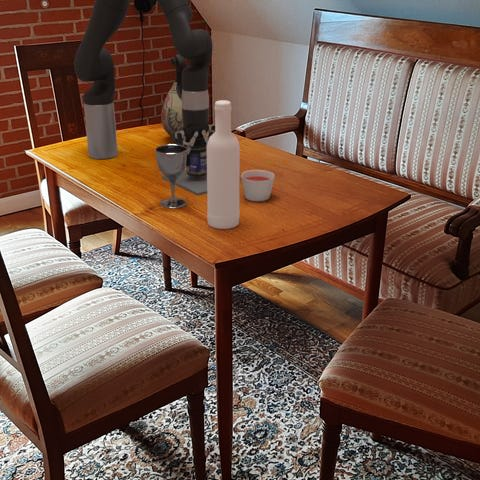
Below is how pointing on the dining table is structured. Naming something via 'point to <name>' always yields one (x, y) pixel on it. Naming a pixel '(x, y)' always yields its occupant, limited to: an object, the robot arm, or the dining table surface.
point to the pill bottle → (198, 159)
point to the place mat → (192, 183)
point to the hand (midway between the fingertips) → (196, 163)
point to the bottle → (223, 171)
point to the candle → (257, 184)
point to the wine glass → (172, 169)
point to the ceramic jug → (174, 101)
